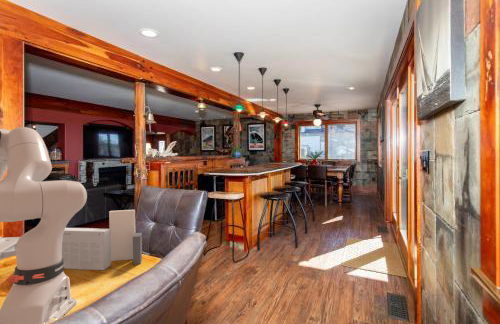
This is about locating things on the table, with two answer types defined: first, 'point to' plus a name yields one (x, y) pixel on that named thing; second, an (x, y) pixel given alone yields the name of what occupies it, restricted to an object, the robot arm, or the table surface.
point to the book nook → (124, 236)
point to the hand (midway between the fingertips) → (25, 248)
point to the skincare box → (86, 248)
